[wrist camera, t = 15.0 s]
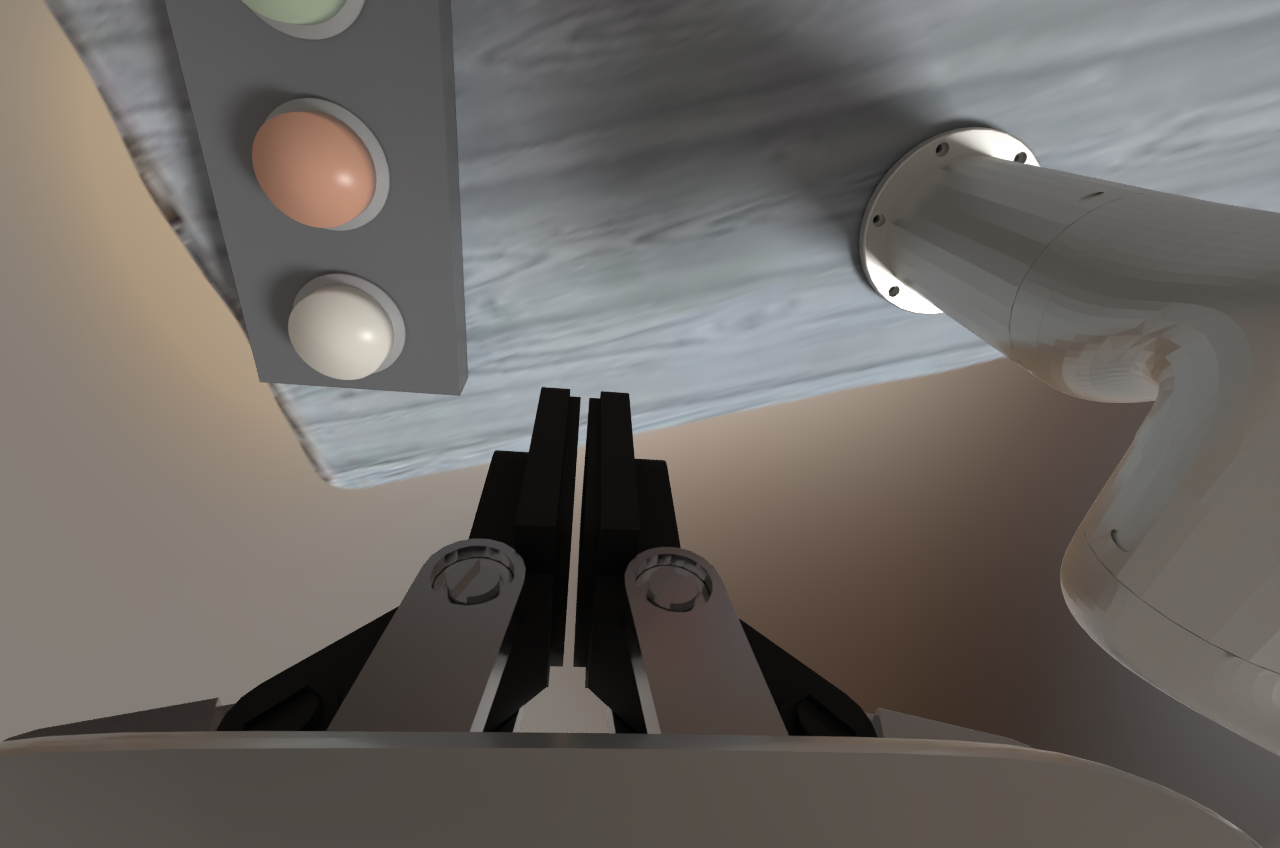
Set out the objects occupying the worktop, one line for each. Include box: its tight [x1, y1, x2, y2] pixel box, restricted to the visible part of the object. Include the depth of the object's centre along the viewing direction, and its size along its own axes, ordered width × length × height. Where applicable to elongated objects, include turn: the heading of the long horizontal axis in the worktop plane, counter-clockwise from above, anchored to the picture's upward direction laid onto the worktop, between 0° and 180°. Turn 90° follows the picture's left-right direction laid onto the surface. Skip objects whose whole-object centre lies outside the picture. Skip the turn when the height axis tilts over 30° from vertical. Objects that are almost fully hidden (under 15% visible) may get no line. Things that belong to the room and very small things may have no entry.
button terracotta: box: [252, 111, 377, 228], centre depth 33 cm, size 6×6×2 cm
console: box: [164, 0, 468, 396], centre depth 36 cm, size 14×30×4 cm, turn 174°
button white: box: [288, 285, 394, 380], centre depth 38 cm, size 6×6×2 cm
